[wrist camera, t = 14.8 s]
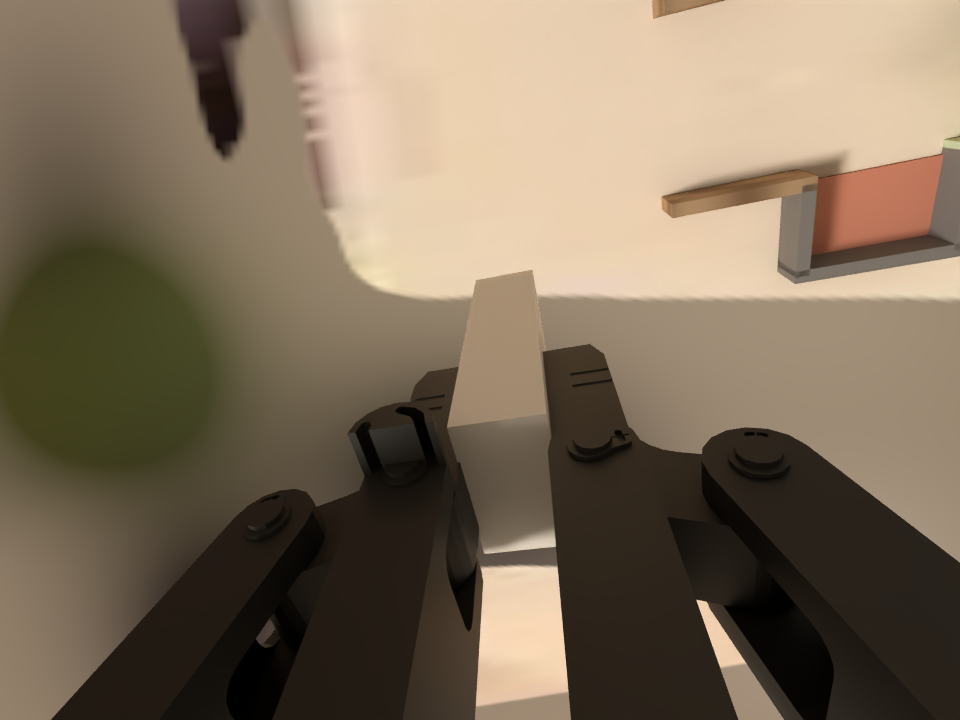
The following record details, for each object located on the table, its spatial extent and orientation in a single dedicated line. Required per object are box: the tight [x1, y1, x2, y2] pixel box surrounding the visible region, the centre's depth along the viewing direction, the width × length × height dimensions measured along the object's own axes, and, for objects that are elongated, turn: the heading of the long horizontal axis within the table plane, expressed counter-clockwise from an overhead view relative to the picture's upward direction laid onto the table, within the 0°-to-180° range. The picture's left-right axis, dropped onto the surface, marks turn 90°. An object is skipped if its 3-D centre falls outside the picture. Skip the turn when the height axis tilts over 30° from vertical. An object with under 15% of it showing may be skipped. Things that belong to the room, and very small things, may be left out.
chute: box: [653, 0, 818, 218], centre depth 35 cm, size 10×14×3 cm
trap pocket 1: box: [778, 147, 960, 284], centre depth 38 cm, size 12×8×3 cm, turn 102°
